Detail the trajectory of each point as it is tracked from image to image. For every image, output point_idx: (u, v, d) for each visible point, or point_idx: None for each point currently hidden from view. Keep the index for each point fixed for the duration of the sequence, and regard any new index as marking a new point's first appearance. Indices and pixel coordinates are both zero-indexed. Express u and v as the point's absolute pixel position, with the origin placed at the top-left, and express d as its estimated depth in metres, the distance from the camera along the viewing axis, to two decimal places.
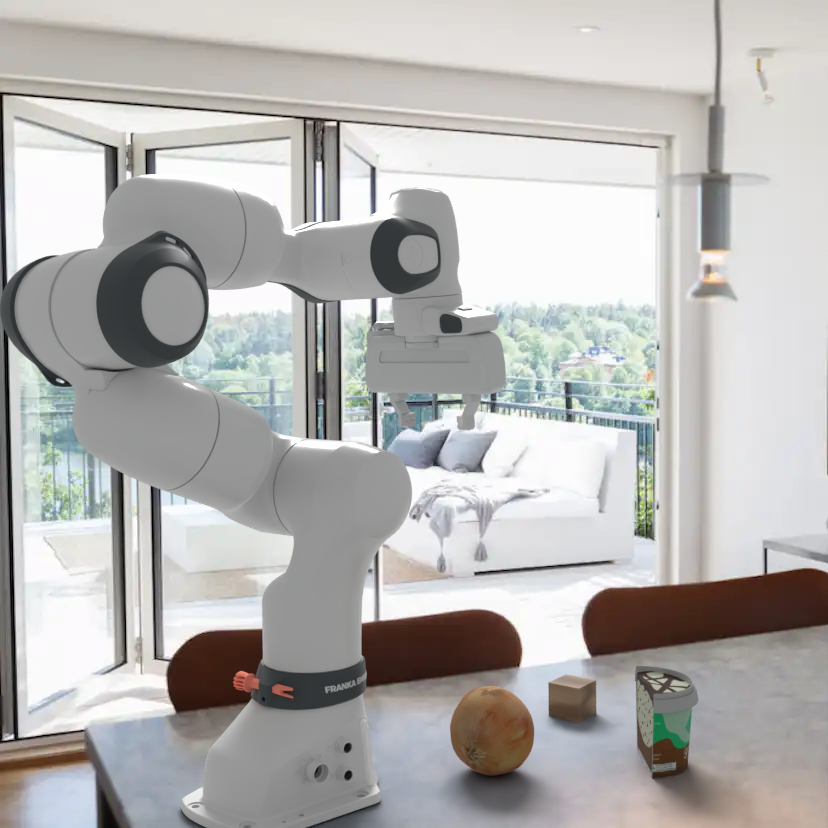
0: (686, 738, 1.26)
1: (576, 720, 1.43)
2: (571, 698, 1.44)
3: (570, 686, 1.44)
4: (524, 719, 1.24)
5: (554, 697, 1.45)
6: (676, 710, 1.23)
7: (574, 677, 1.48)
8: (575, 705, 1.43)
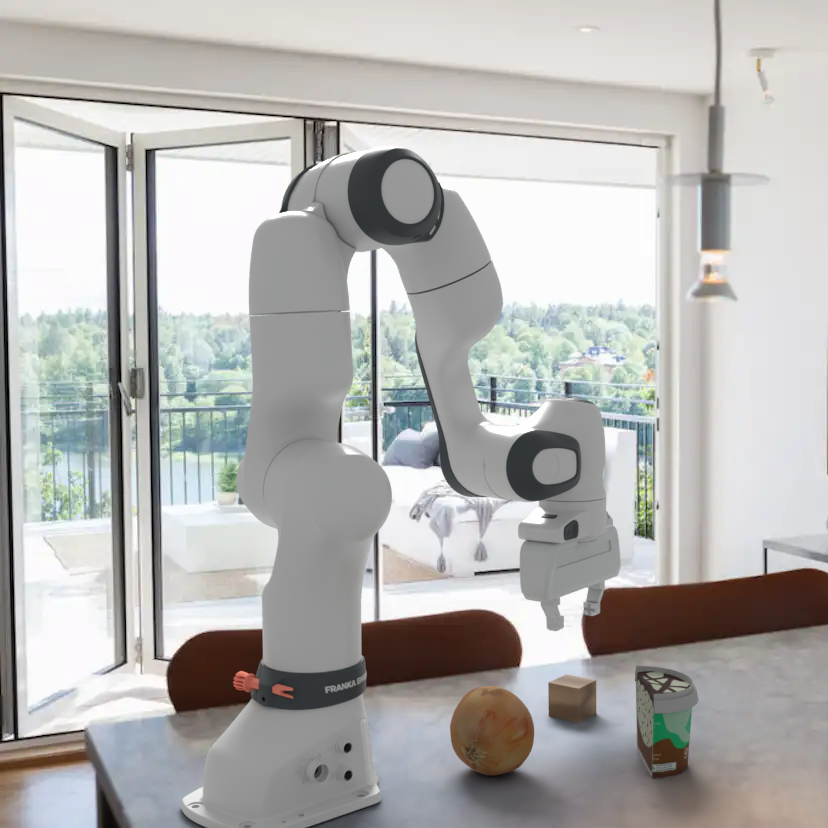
0: (686, 738, 1.26)
1: (576, 720, 1.43)
2: (570, 698, 1.44)
3: (570, 686, 1.44)
4: (524, 719, 1.24)
5: (554, 697, 1.45)
6: (676, 710, 1.23)
7: (574, 677, 1.48)
8: (575, 705, 1.43)
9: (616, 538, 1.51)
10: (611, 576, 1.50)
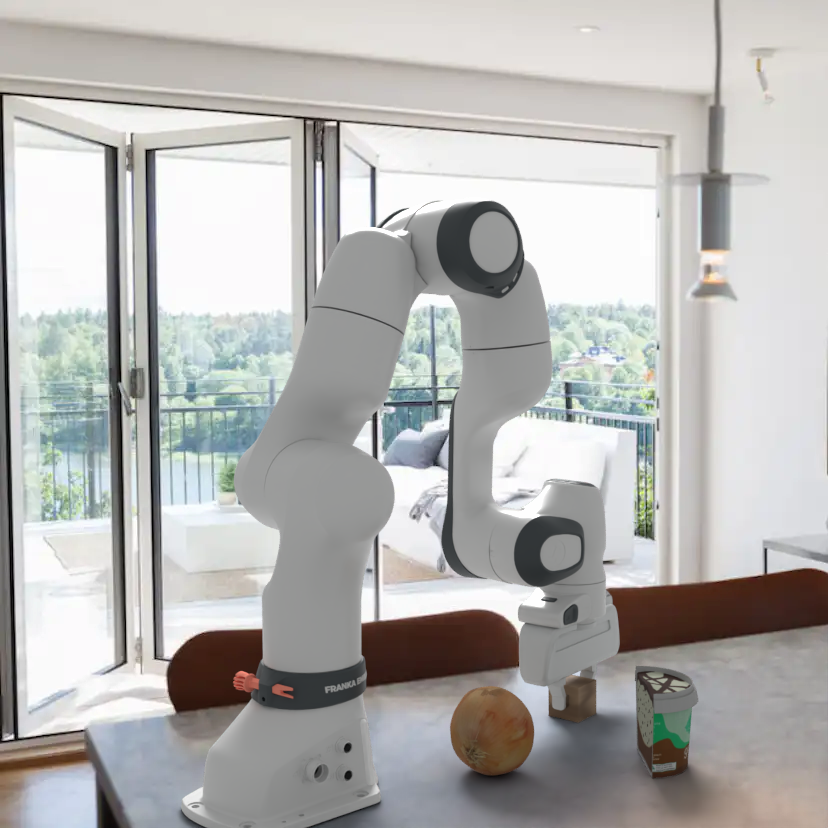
0: (686, 738, 1.26)
1: (576, 719, 1.43)
2: (570, 698, 1.44)
3: (570, 685, 1.44)
4: (524, 719, 1.24)
5: None
6: (676, 710, 1.23)
7: (574, 677, 1.48)
8: (575, 704, 1.43)
9: (615, 617, 1.51)
10: (610, 655, 1.51)
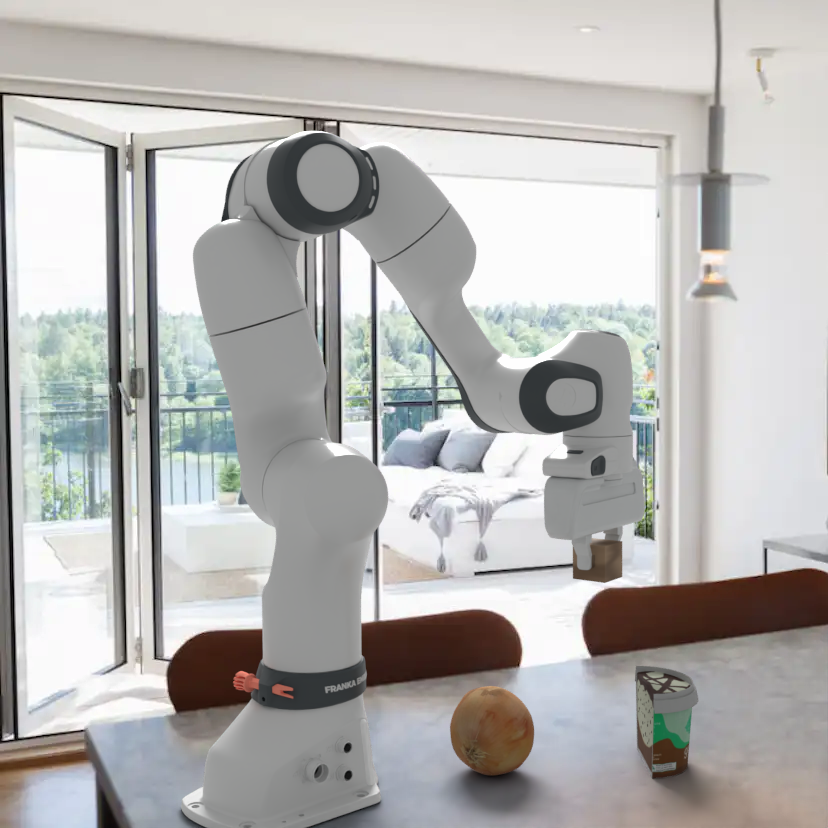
0: (686, 738, 1.26)
1: (602, 580, 1.37)
2: (596, 558, 1.38)
3: (596, 545, 1.38)
4: (524, 719, 1.24)
5: None
6: (676, 710, 1.23)
7: (599, 540, 1.42)
8: (601, 564, 1.37)
9: (641, 481, 1.45)
10: (635, 520, 1.45)
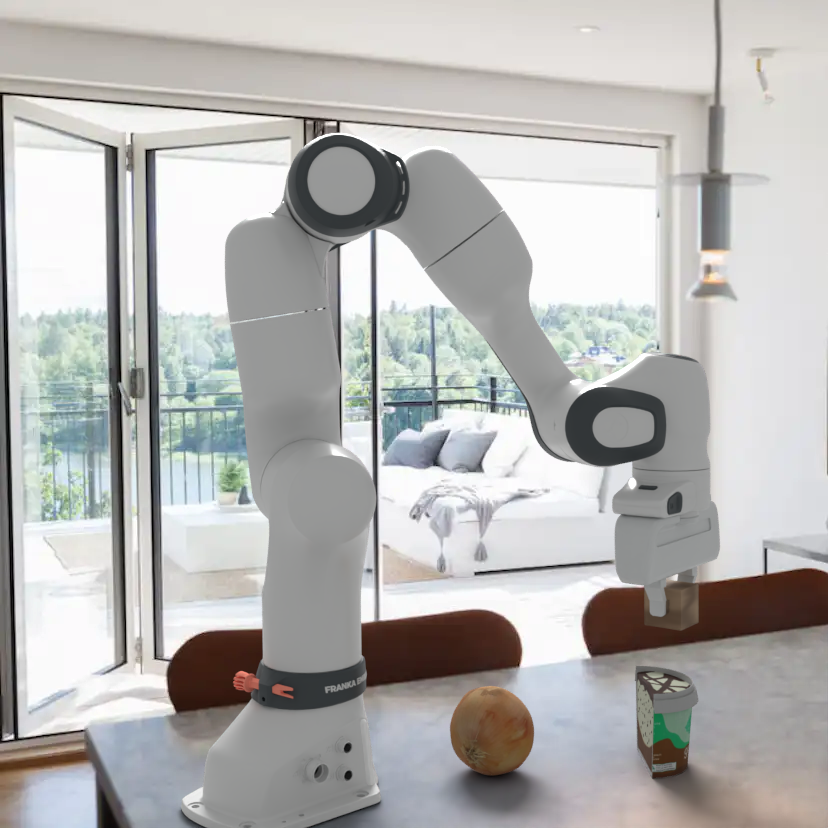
0: (686, 738, 1.26)
1: (678, 627, 1.25)
2: (671, 603, 1.25)
3: (670, 589, 1.26)
4: (524, 719, 1.24)
5: None
6: (676, 710, 1.23)
7: (673, 581, 1.29)
8: (677, 610, 1.25)
9: (716, 516, 1.33)
10: (711, 559, 1.32)
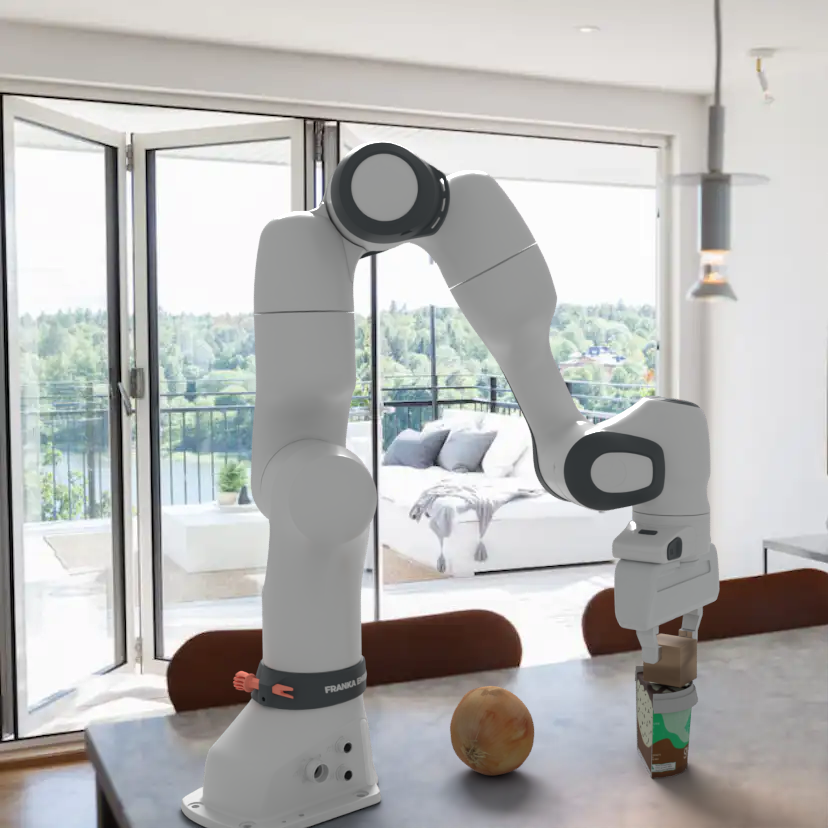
0: (685, 738, 1.26)
1: (677, 684, 1.25)
2: (670, 659, 1.26)
3: (670, 645, 1.26)
4: (524, 719, 1.24)
5: None
6: (675, 710, 1.23)
7: (671, 637, 1.30)
8: (676, 667, 1.25)
9: (716, 558, 1.33)
10: (710, 601, 1.32)
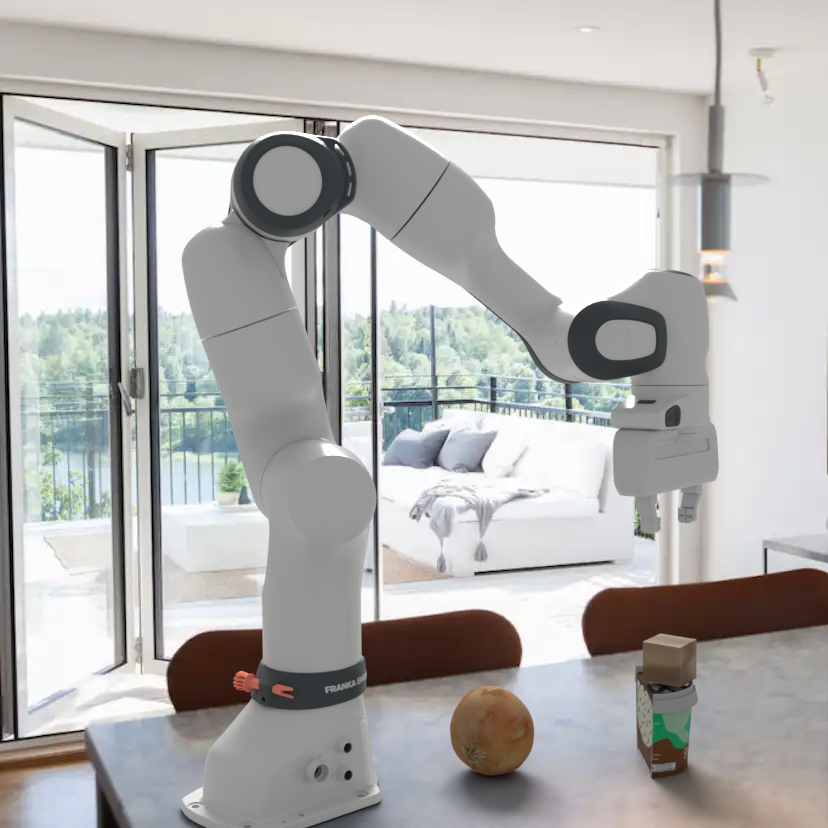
0: (685, 738, 1.26)
1: (676, 684, 1.25)
2: (670, 659, 1.26)
3: (669, 645, 1.26)
4: (524, 719, 1.24)
5: (650, 658, 1.27)
6: (675, 710, 1.23)
7: (671, 637, 1.30)
8: (676, 667, 1.25)
9: (715, 438, 1.34)
10: (709, 479, 1.33)
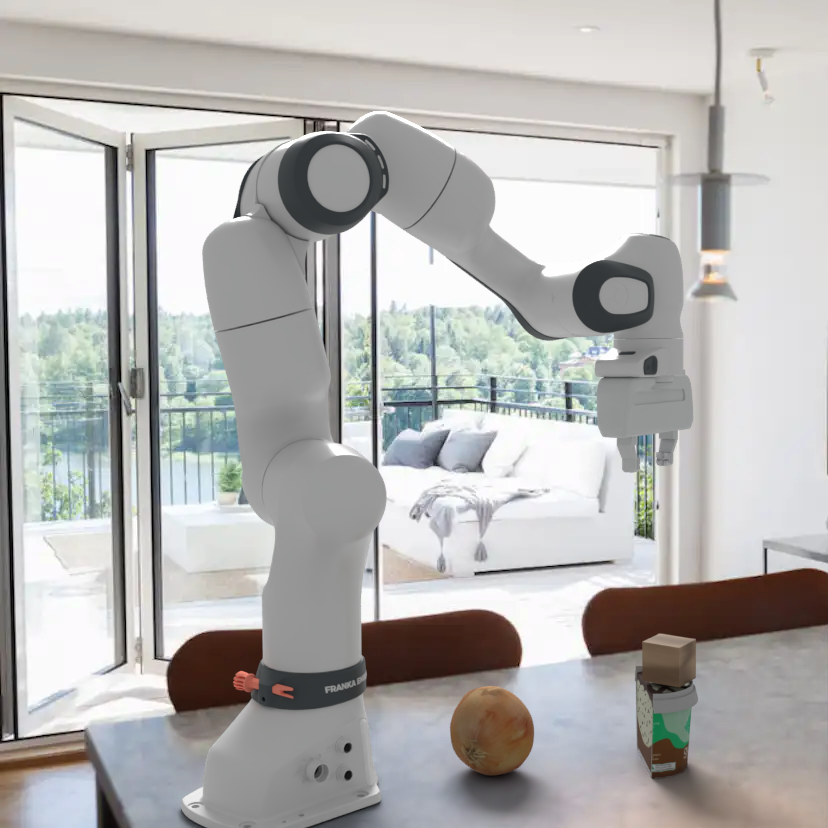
0: (685, 738, 1.26)
1: (676, 684, 1.25)
2: (669, 659, 1.26)
3: (669, 645, 1.26)
4: (524, 719, 1.24)
5: (649, 658, 1.27)
6: (675, 710, 1.23)
7: (670, 637, 1.30)
8: (675, 667, 1.25)
9: (690, 389, 1.47)
10: (684, 427, 1.46)
